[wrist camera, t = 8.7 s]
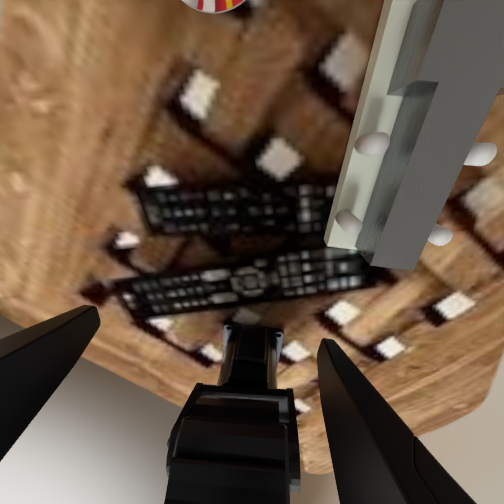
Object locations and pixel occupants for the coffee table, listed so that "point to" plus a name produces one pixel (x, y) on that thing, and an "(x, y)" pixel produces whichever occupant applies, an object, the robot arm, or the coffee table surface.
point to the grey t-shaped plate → (432, 122)
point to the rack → (378, 134)
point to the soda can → (213, 5)
